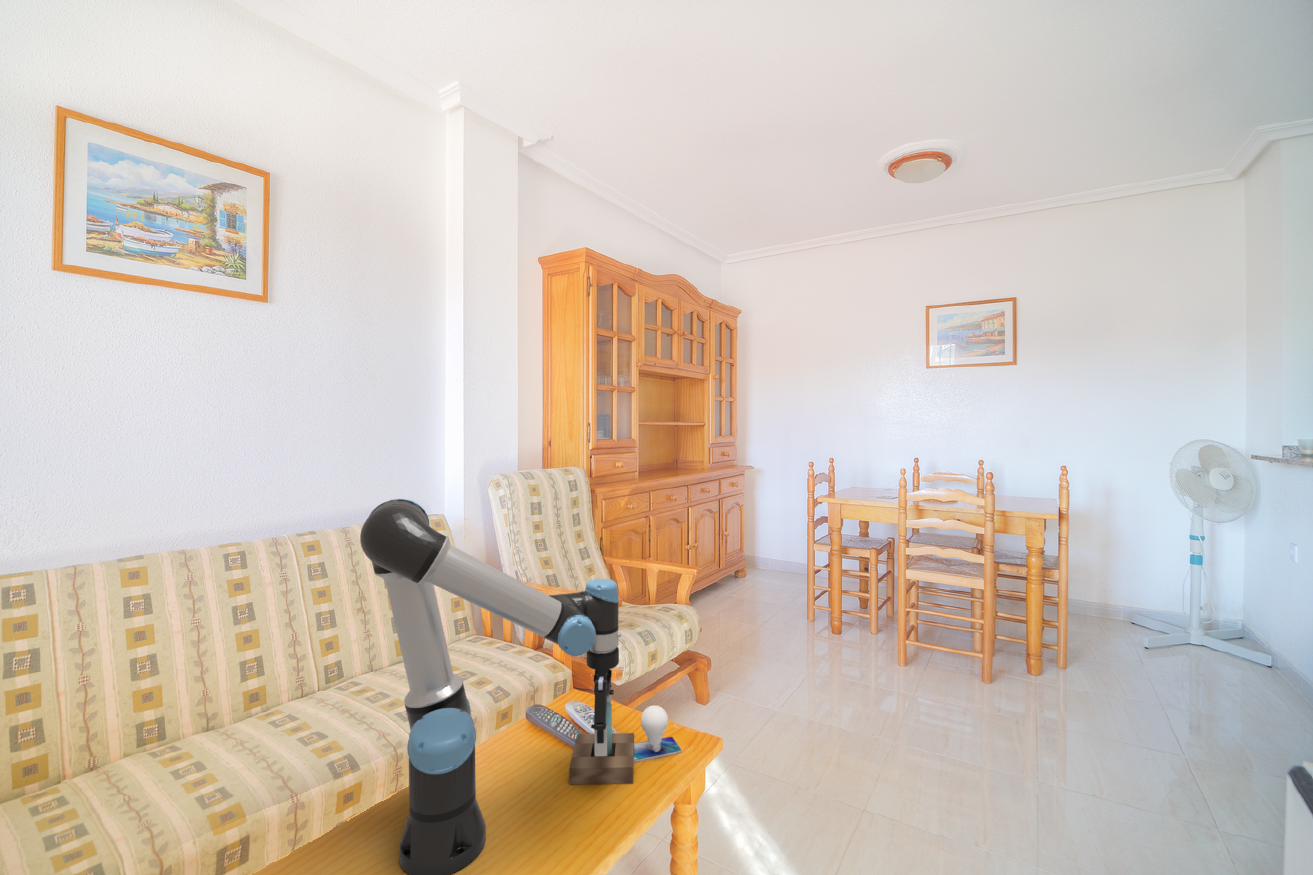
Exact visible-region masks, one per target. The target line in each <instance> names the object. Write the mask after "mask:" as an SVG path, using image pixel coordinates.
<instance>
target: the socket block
mask: <svg viewBox="0 0 1313 875" xmlns="http://www.w3.org/2000/svg"><path fill="white" fill-rule="evenodd" d="M634 744H635V733H634V732H619V733H618V732H615V733H614V732H612V756H606V757H595V736H594V733H577V734H576V737H575V741H574V746H573V750H572V753H571V754H572V755H571V759H570V763H569V768H568V770H569V772H568V777H569V778H568V782H569V783H568V785H615V784H616V785H617V784H618V785H620V784H621V785H623V784H634V764H635V763H634Z"/></svg>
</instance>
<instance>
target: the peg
mask: <svg viewBox="0 0 1313 875" xmlns="http://www.w3.org/2000/svg"><path fill="white" fill-rule="evenodd" d="M593 708H595V705H594V707H593ZM612 713H613V704H612V702H611V703H610V702H607V713H606V724H607V756H612V733H613V722H612V721H613V714H612ZM595 757H606V756H595Z"/></svg>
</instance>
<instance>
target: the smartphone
mask: <svg viewBox="0 0 1313 875" xmlns="http://www.w3.org/2000/svg"><path fill="white" fill-rule="evenodd" d="M660 744H661V749H660V751H658V752H656V753H654V752H651V751H650V750H649V742H648V740H646V741H642V742H636V743H635V742H634V764H636V763H640V762H644V761H650V760H654V759H659V758H663V757H668V756H674V755H678V754H681V753H682V748H681V747H680V745H679V744H678V743H677V741H676V740H675V738H674V737H673V736H667V737H662V740H661V743H660Z"/></svg>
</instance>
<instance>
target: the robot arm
mask: <svg viewBox="0 0 1313 875" xmlns="http://www.w3.org/2000/svg"><path fill="white" fill-rule="evenodd" d="M359 537H360V538H359V541H360V542H359V543H360V547H361V549H362V551H363V553H364V555H365V556H366V557H367V558H368V559H369V560H370V562H371V565H372V568H373V572H374V575H375V576H376V577H379V578H382V579H383V580H384V582H385V587H386V591H387V595H388V598H389V600H388V601H389V603H390V608H391V613H392V617H393V621H394V622H393V623H394V627H395V630H396V634H397V635H396V636H397V639H398V644H399V648H400V652H401V656H402V661H403V665H404V670H405V673H406V677H407V681H408V682H407V683H408V686H409V691H408V692H407V694H406V695H405V697H404V699H403V700H404V701H403V702H404V706H405V710H406V711H405V712H406V716H407V717H406V718H407V721H408V725H409V731H410V732H409V734H408V735H409V736H408V741H407V746H406V747H407V748H406V749H407V756H408V798H409V799H408V805H409V808H408V810H409V811H408V812H409V813H408V816H407V820H406V822H405V825H404V830H403V832H402V836H401V837H400V842H399V846H398V849H399V850H398V855H399V856H398V857H399V858H398V859H399V860H398V862H399V865H400V867H401V870H403V871H404V872H405V873H406V874H407V875H452V874H453V873H455V872H457V871H460V870H462V869H464V868H465V867H466V866H468V865H470V863H472V862H473V861H474V860H475V859H476V858H477V857H478V856H479V855H480V853H481V852H482V851H483V848H484V847H485V844H486V840H487V839H486V836H487V835H486V834H487V833H486V832H487V831H486V822H485V819H484V816H483V814H482V810H481V808H480V805H479V803H478V800H477V796H476V787H477V786H476V741H477V732H476V725H475V722H474V719H473V717H472V716H471V714H472V712H471V711H472V710H471V705H470V700H469V698H467V694H466V690H465V685H464V681H463V678H462V677H461V676H459V675H457V674H454V673H453V672H454V671H453V667H452V663H451V657H450V654H449V649H448V645H447V640H446V636H445V631H444V627H443V622H442V617H441V613H440V608H439V604H438V599H437V594H436V591H435V587H434V586H436V587H438V588H439V589H440V588H441V589H442V590H445V591H446V592H449V593H451V594H452V595H455V596H457V597H458V598H461V599H463V600H465V601H468V602H470V603H472V604H473V605H475V606H478V607H480V608H482V609H483V610H486V611H488V612H490V613H492V614H494V615H496V616H498V617H499V618H502V619H505V620H506V621H509V622H511V623H513V624H515V625H517V626H520V627H521V628H524V629H525V630H528V631H529V632H532V633H534V634H536V635H538V636H540V637H542V638H544V639H545V640H548V641H550V642H552V643H554V644H556V645H557V646H558V647H559V648H560V649H561V650H562V652H564V653H565V654H566V655H568V656H570V657H571V656H572V657H580V656H583V655H585V654H586V655H585V656H586V666H587V667H588V668H590V669H591V670H594V675H593V683H594V684H593V685H594V686H593V687H594V688H593V692H594V706H595V708H594V707H593V708H594V712H593V715H594V716H593V724H591V726H590V729H593V730H594V731H593V732H594V733H593V734H594V736H595V756H607V724H606V713H607V702H610V703H611V704H612V696H614V692H615V691H614V689H612V677H613V674H612V672H613V671H612V669H614V668H616V667H617V666H618V665H619V662H620V650H619V640H620V639H619V638H621V637H622V633H621V632H619V611H620V610H619V606H620V605H619V603H620V600H619V598H620V596H619V588H618V584H617V583H616V582H615V581H614V580H612V579H608V578H597V579H593V580H589V581H588V582H587V583H585V584H586V585H585V589H584V591H583V590H582V591H578V592H571V593H570V592H569V593H560V594H546V593H544V592H542V591H541V590H538V589H537V588H535V587H532V586H531V585H529V584H526V583H525V582H523V581H521V580H519V579H517V578H515V577H513V576H511V575H509V574H507V573H506V572H503V571H501V570H500V569H497V568H495V567H494V566H493V565H490V564H488V563H486V562H484V561H482V560H480V559H478V558H476V557H474V556H473V555H471V554H468V553H467V552H464V551H462V550H461V549H458V547H455V546H454V545H451V544H450V542H449V538H448V536H446V535H445V534H442V533H440V532H439V531H437V530H436V529H435V528H432V527H431V525H430V518H429V516H428V514H427V512H426V510H425V509H424V508H423V507H422V506H421V505H420V504H419V503H417V502H415V501H414V500H409V499H404V498H395V499H390V500H388V501H383V502H381V503H380V504H378V505H377V506H376V507H375V508H373V510H372V511H371V512H370V514H369V516H367V518H366V519H365V522H364V523H363V525H362V528H361V530H360V536H359Z"/></svg>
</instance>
